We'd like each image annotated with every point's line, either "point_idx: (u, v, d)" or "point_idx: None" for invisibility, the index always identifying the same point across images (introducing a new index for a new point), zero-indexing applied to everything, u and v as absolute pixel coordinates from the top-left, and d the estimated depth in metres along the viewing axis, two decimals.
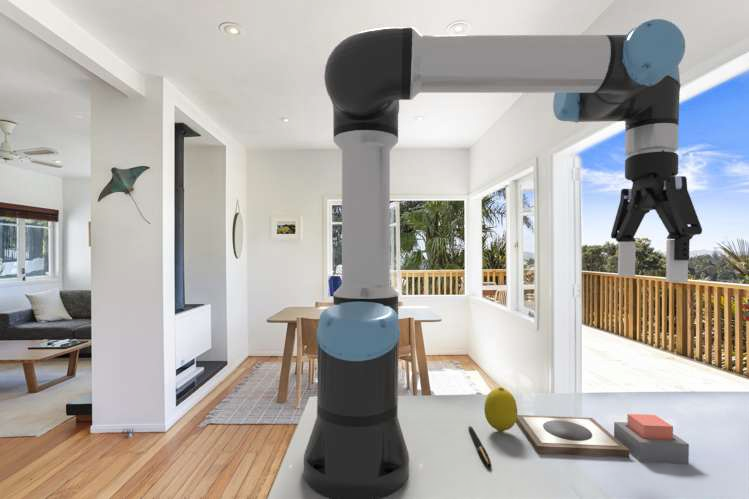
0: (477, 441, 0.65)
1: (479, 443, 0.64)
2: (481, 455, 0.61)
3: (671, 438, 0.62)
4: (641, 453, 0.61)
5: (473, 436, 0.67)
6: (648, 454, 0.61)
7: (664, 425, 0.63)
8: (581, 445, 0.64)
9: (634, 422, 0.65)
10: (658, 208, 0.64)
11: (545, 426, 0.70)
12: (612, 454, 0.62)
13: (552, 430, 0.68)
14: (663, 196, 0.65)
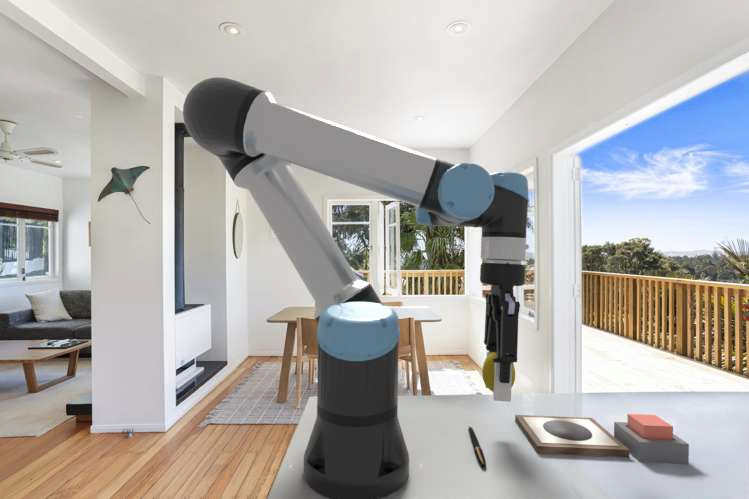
0: (475, 442, 0.65)
1: (476, 443, 0.64)
2: (477, 455, 0.61)
3: (671, 438, 0.62)
4: (641, 453, 0.61)
5: (472, 436, 0.67)
6: (648, 454, 0.61)
7: (664, 425, 0.63)
8: (581, 445, 0.64)
9: (634, 422, 0.65)
10: (497, 324, 0.68)
11: (545, 426, 0.70)
12: (612, 454, 0.62)
13: (552, 430, 0.68)
14: None
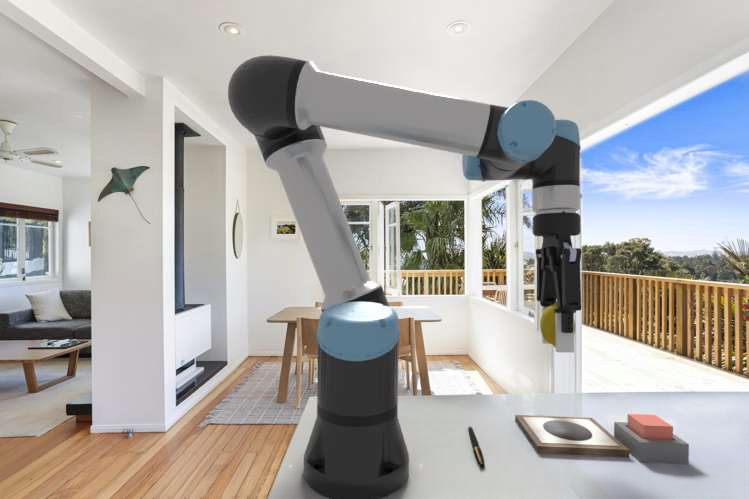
0: (474, 441, 0.65)
1: (476, 443, 0.64)
2: (476, 455, 0.61)
3: (671, 438, 0.62)
4: (641, 453, 0.61)
5: (471, 436, 0.67)
6: (648, 454, 0.61)
7: (664, 425, 0.63)
8: (581, 445, 0.64)
9: (634, 422, 0.65)
10: (555, 274, 0.67)
11: (545, 426, 0.70)
12: (612, 454, 0.62)
13: (552, 430, 0.68)
14: None
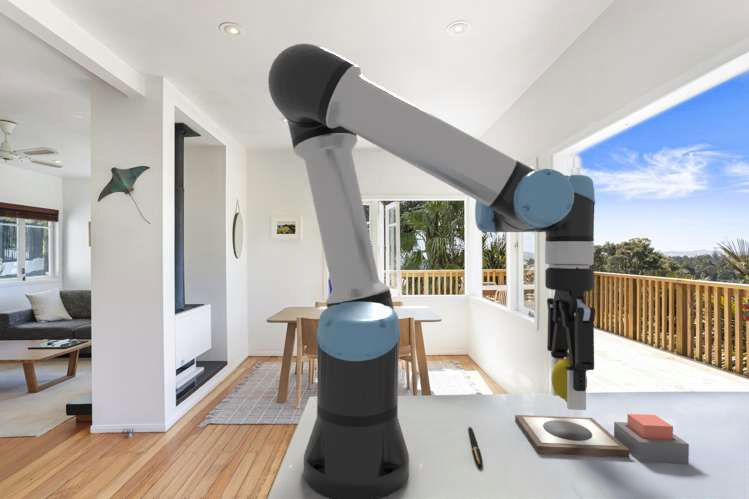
0: (473, 442, 0.65)
1: (475, 443, 0.64)
2: (474, 455, 0.61)
3: (671, 438, 0.62)
4: (641, 453, 0.61)
5: (470, 436, 0.67)
6: (648, 454, 0.61)
7: (664, 425, 0.63)
8: (581, 445, 0.64)
9: (634, 422, 0.65)
10: (567, 330, 0.66)
11: (545, 426, 0.70)
12: (612, 454, 0.62)
13: (552, 430, 0.68)
14: None
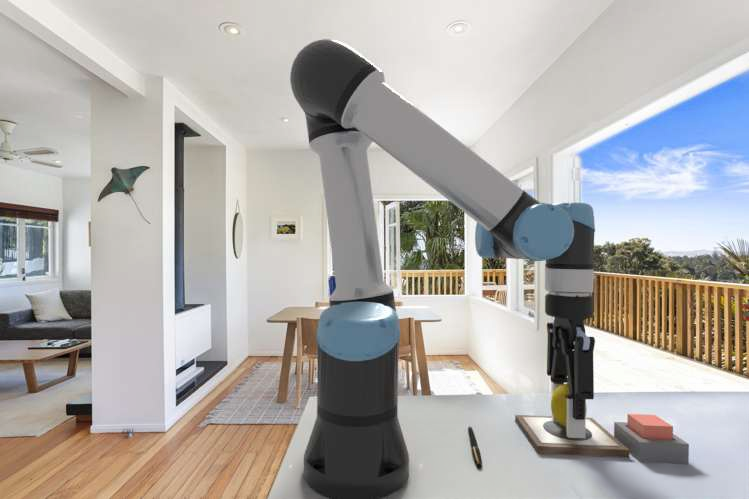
0: (473, 441, 0.65)
1: (474, 443, 0.64)
2: (473, 455, 0.61)
3: (671, 438, 0.62)
4: (641, 453, 0.61)
5: (470, 436, 0.67)
6: (648, 454, 0.61)
7: (664, 425, 0.63)
8: (581, 445, 0.64)
9: (634, 422, 0.65)
10: (567, 358, 0.66)
11: (545, 426, 0.70)
12: (612, 454, 0.62)
13: (552, 430, 0.68)
14: None
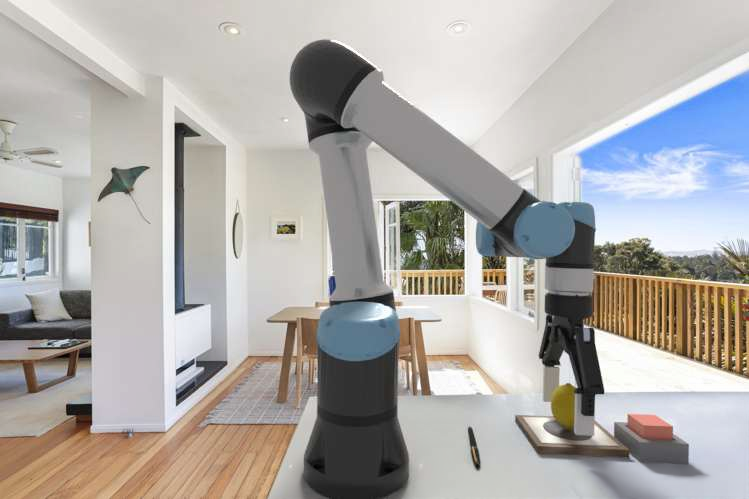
0: (472, 441, 0.65)
1: (473, 443, 0.64)
2: (472, 455, 0.61)
3: (671, 438, 0.62)
4: (641, 453, 0.61)
5: (470, 436, 0.67)
6: (648, 454, 0.61)
7: (664, 425, 0.63)
8: (581, 445, 0.64)
9: (634, 422, 0.65)
10: (570, 354, 0.65)
11: (545, 426, 0.70)
12: (612, 454, 0.62)
13: (552, 430, 0.68)
14: None
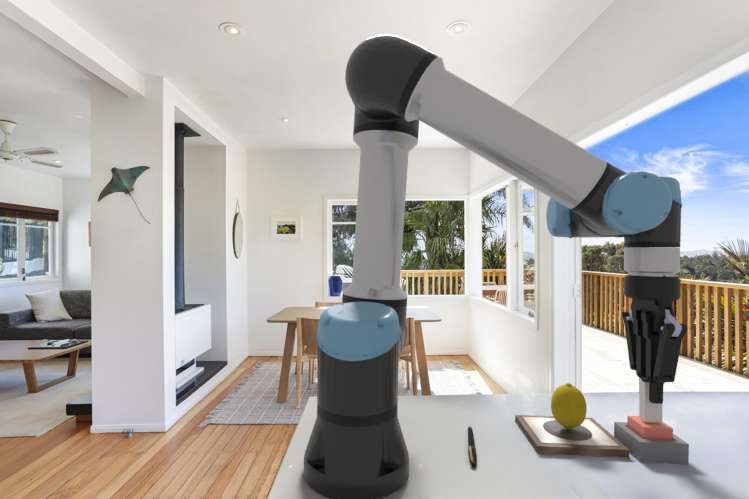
0: (470, 441, 0.65)
1: (471, 443, 0.65)
2: (469, 454, 0.61)
3: None
4: (641, 453, 0.61)
5: (468, 436, 0.67)
6: (648, 454, 0.61)
7: (664, 427, 0.63)
8: (581, 445, 0.64)
9: (634, 424, 0.65)
10: (648, 342, 0.63)
11: (545, 426, 0.70)
12: (612, 454, 0.62)
13: (552, 430, 0.68)
14: None
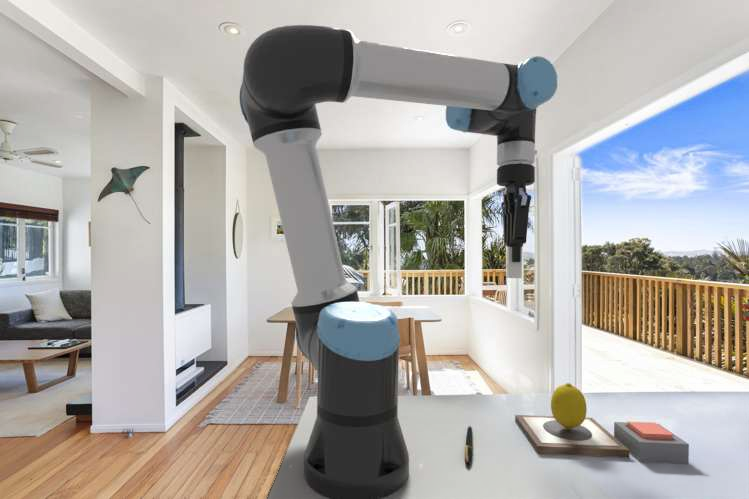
0: (468, 440, 0.65)
1: (469, 442, 0.65)
2: (465, 453, 0.62)
3: None
4: (641, 453, 0.61)
5: (467, 435, 0.67)
6: (648, 454, 0.61)
7: (664, 433, 0.63)
8: (581, 445, 0.64)
9: (634, 430, 0.65)
10: (511, 216, 0.83)
11: (545, 426, 0.70)
12: (612, 454, 0.62)
13: (552, 430, 0.68)
14: None
